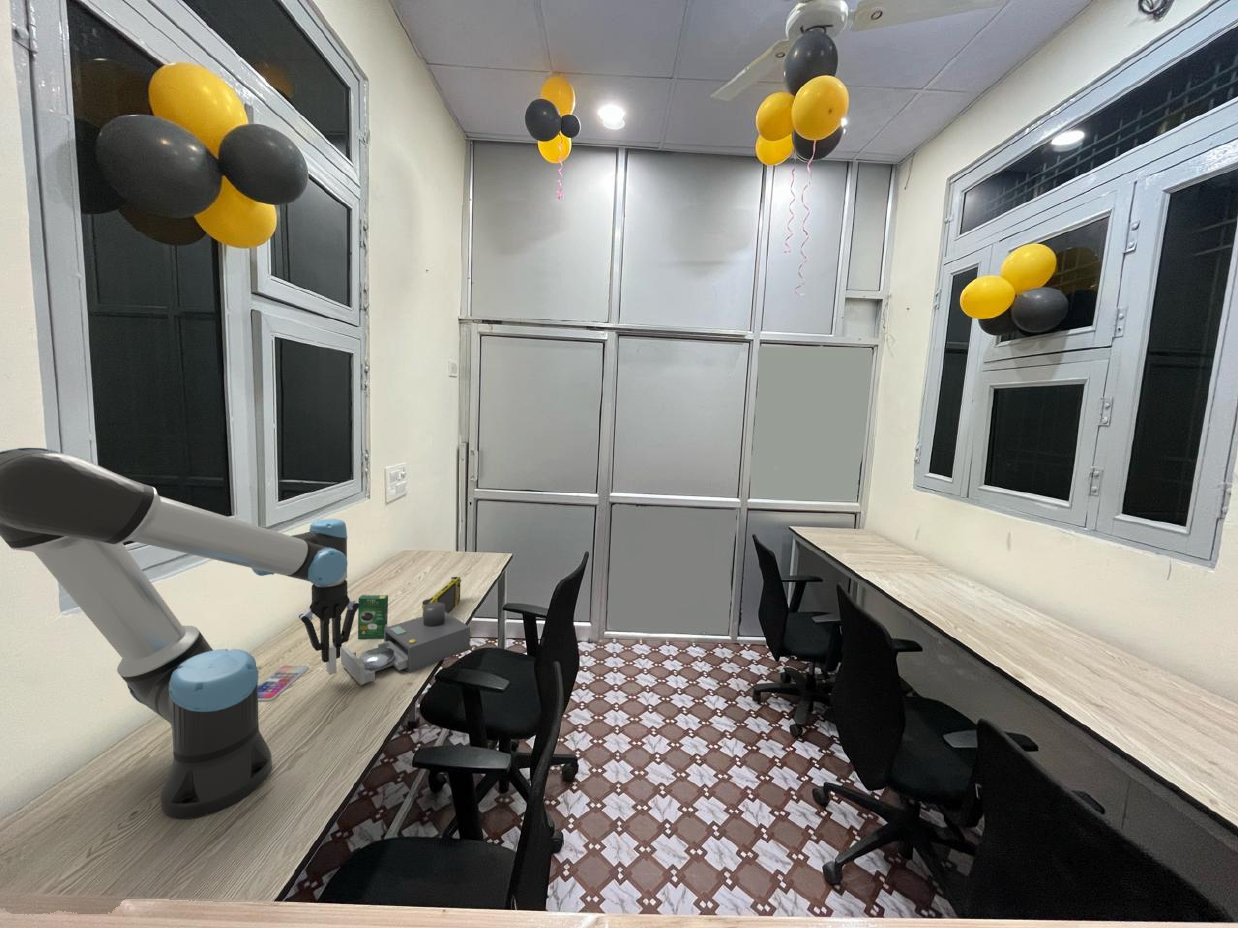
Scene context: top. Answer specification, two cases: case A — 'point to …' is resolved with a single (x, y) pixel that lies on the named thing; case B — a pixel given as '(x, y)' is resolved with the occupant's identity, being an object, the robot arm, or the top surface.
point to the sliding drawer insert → (364, 676)
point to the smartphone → (279, 682)
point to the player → (430, 636)
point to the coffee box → (372, 616)
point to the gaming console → (447, 595)
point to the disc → (377, 658)
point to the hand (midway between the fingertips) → (331, 671)
